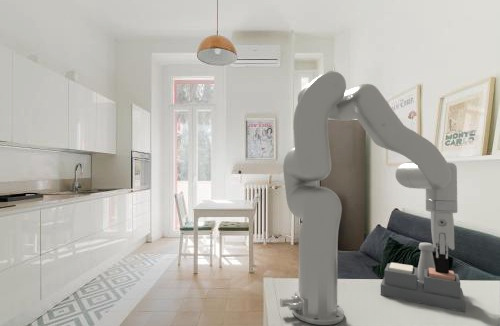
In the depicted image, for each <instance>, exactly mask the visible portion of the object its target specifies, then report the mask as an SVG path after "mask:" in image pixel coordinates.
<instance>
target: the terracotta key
mask: <svg viewBox="0 0 500 326" xmlns="http://www.w3.org/2000/svg"><path fill="white" fill-rule="evenodd" d="M454 273H455V272H454V270H449V273H448V274H446V273H440V272H436V271H435V268H429V277H433V278H439V279H445V280H452V281H455V275H454Z"/></svg>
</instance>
